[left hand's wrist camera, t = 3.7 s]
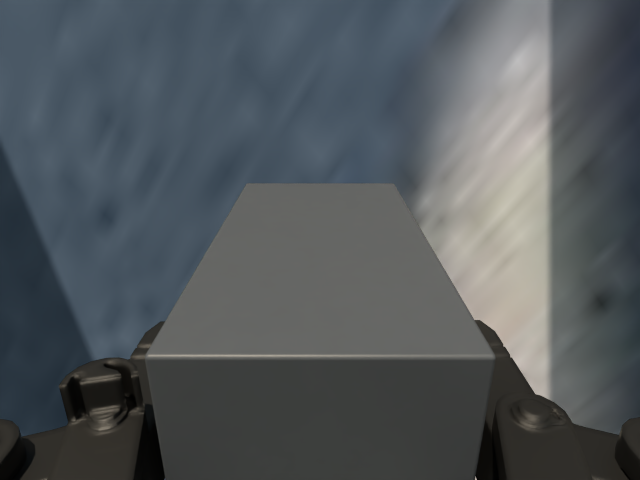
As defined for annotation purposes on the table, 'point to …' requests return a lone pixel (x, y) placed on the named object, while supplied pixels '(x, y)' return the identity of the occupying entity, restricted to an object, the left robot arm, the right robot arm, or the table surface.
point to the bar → (320, 347)
